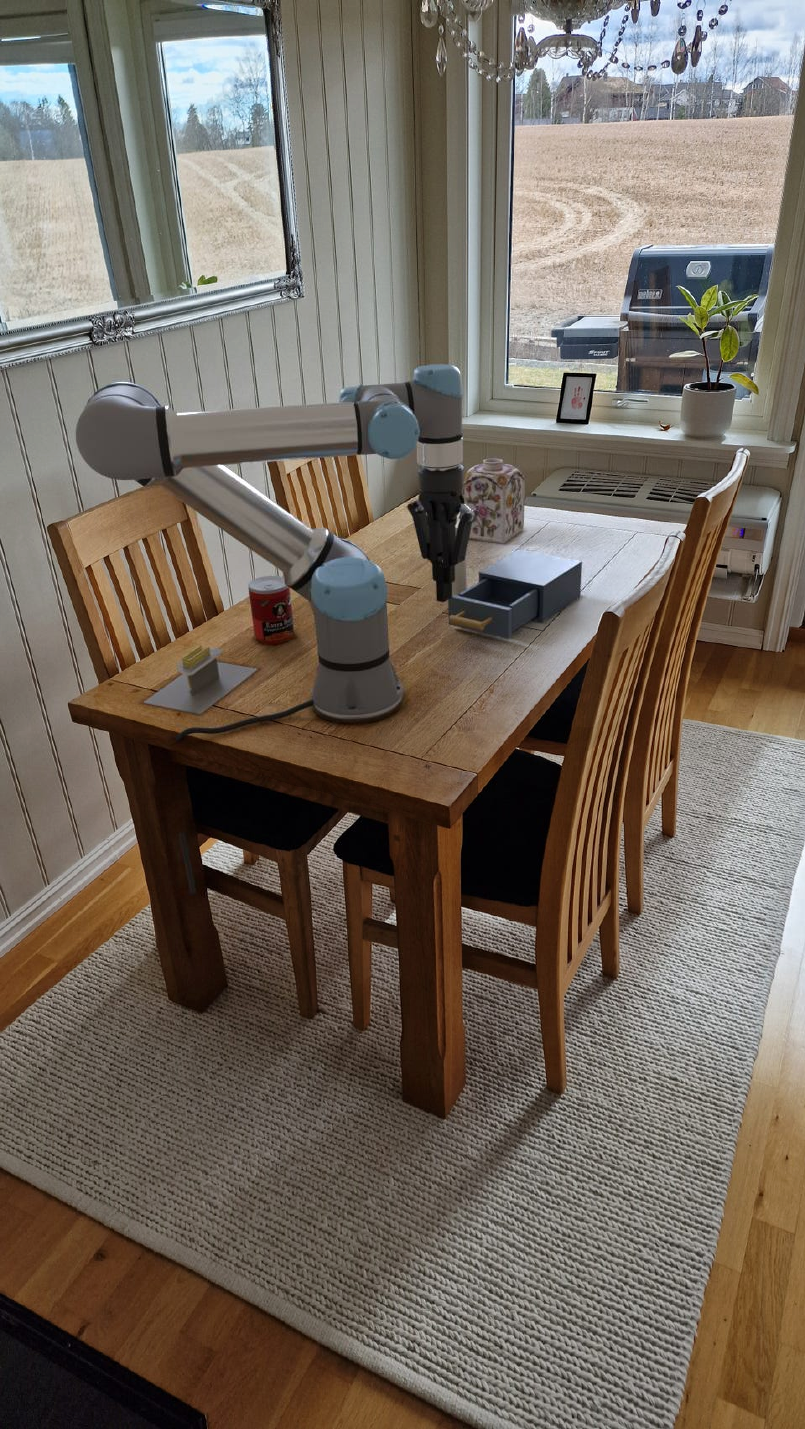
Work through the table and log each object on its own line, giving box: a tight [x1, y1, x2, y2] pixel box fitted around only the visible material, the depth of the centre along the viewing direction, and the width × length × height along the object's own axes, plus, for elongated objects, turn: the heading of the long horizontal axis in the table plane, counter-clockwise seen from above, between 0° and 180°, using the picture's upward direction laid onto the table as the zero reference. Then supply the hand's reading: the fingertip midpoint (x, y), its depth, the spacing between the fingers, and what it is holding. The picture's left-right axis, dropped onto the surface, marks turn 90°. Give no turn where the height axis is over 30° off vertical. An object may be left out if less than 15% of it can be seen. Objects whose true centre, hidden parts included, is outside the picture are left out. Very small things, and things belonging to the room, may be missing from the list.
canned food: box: [248, 575, 295, 645], centre depth 184 cm, size 8×8×11 cm
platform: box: [142, 644, 259, 715], centre depth 168 cm, size 12×18×7 cm, turn 155°
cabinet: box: [478, 549, 583, 623], centre depth 194 cm, size 16×15×8 cm
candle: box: [452, 520, 468, 596], centre depth 198 cm, size 4×4×15 cm
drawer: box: [447, 578, 540, 640], centre depth 184 cm, size 19×13×6 cm
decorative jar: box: [462, 457, 526, 545], centre depth 230 cm, size 12×12×18 cm
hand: (444, 599), depth 170 cm, fingers closed
